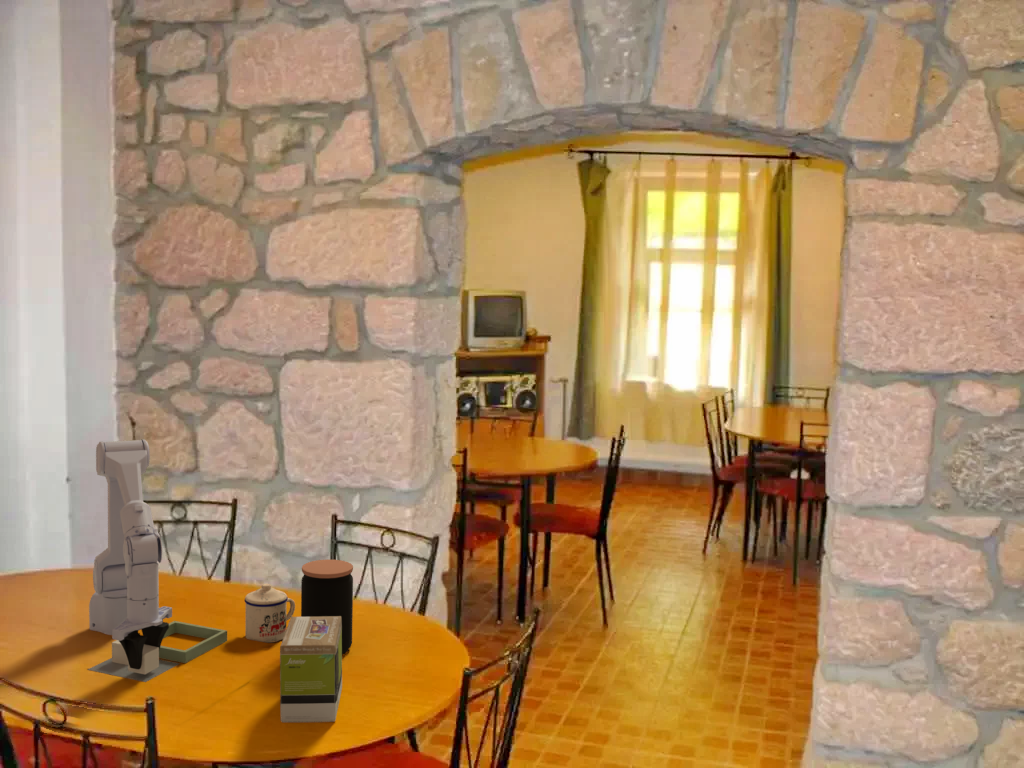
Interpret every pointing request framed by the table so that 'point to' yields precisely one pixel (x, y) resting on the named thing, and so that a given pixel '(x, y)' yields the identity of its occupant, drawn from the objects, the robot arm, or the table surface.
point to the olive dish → (212, 640)
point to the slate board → (122, 671)
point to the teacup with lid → (267, 614)
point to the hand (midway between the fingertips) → (143, 663)
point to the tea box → (311, 669)
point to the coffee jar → (329, 593)
